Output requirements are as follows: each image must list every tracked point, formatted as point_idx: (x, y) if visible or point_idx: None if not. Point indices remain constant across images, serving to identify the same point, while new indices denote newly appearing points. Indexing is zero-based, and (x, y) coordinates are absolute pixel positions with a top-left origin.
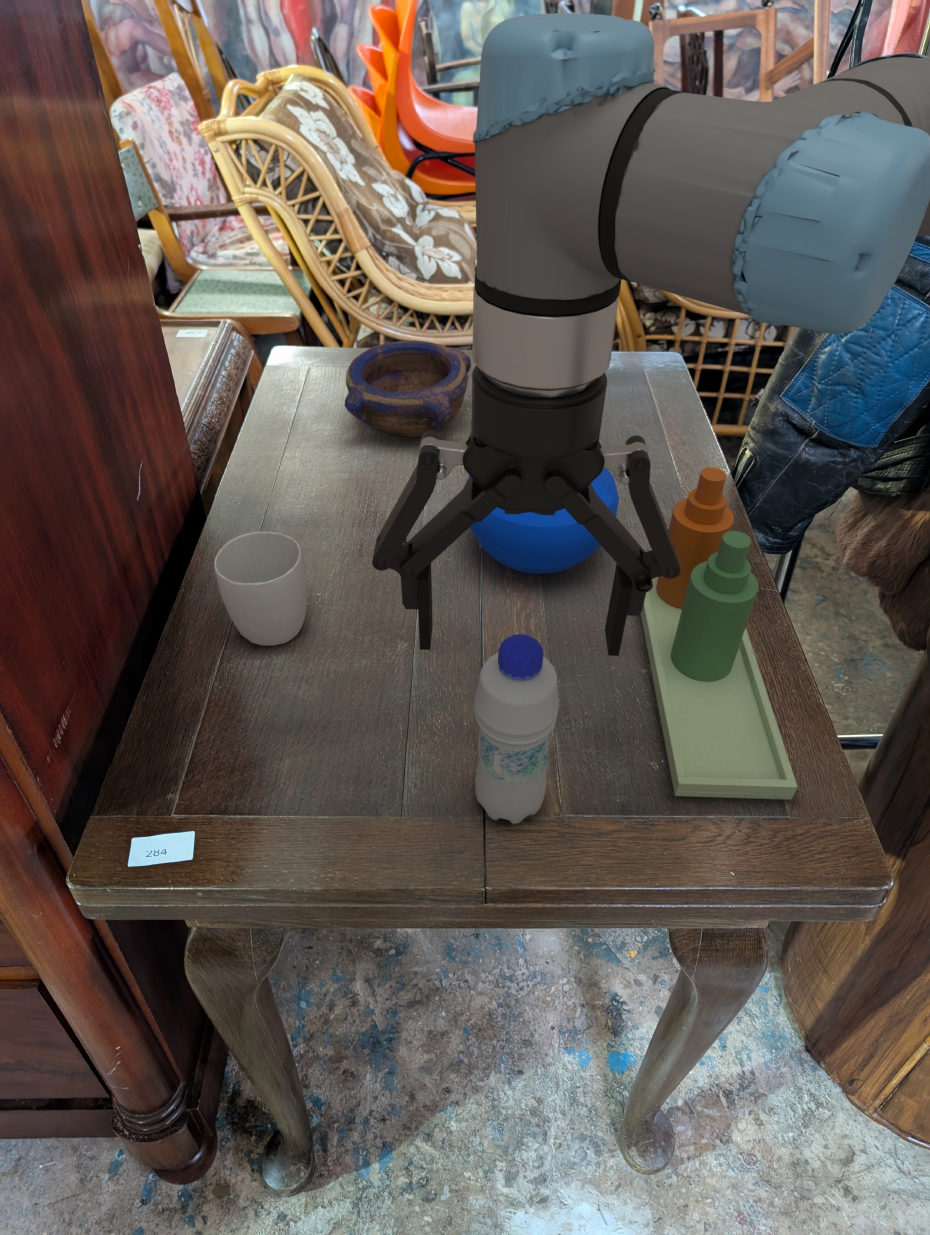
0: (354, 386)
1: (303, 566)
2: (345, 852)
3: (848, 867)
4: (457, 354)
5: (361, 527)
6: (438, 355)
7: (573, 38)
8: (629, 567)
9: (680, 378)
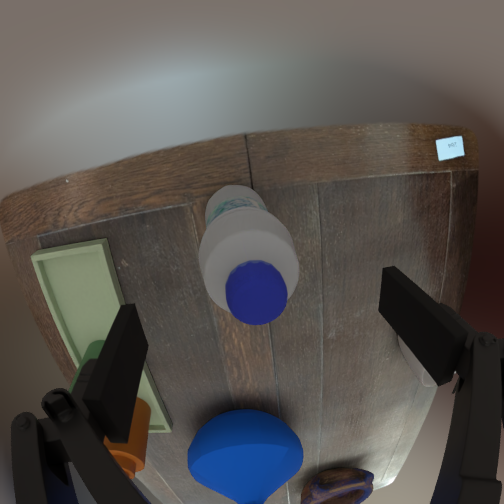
0: (369, 485)
1: (416, 368)
2: (351, 148)
3: (8, 205)
4: None
5: (360, 411)
6: None
7: None
8: (82, 437)
9: None
